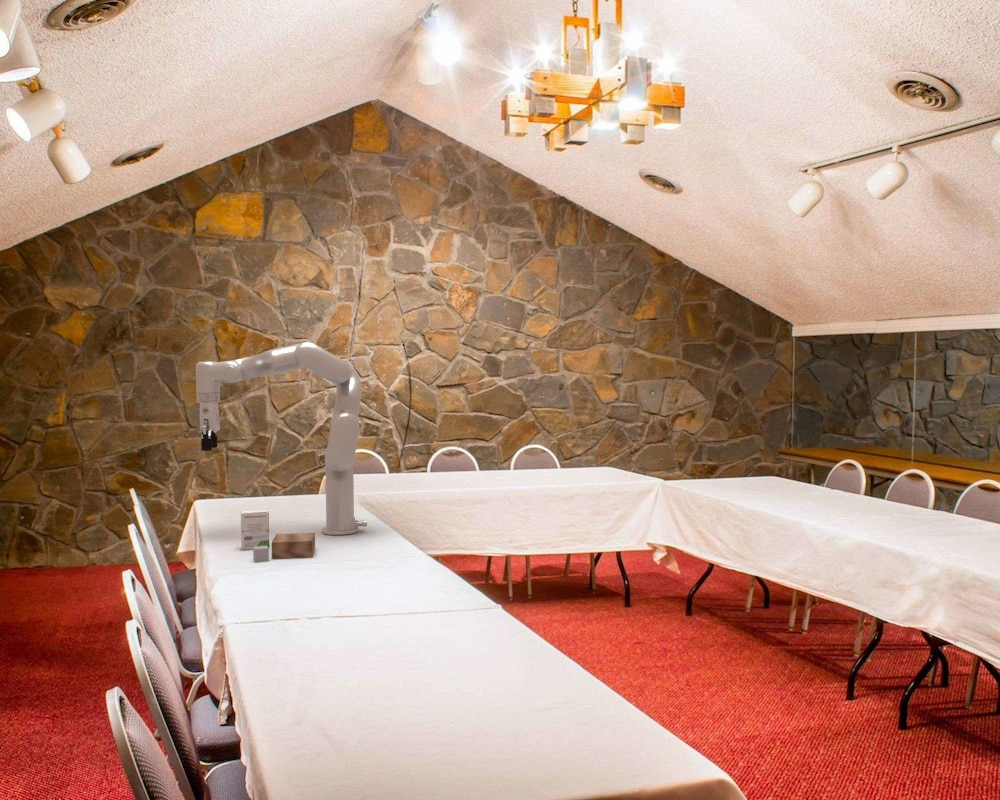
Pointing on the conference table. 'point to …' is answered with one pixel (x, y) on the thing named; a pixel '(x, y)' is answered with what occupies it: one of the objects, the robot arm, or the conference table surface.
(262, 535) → the ink box
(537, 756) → the conference table surface
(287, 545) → the walnut base block
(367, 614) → the conference table surface
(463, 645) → the conference table surface
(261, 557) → the slate cube
